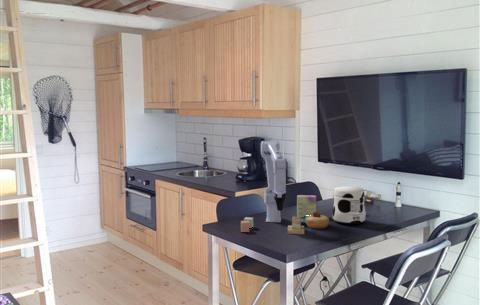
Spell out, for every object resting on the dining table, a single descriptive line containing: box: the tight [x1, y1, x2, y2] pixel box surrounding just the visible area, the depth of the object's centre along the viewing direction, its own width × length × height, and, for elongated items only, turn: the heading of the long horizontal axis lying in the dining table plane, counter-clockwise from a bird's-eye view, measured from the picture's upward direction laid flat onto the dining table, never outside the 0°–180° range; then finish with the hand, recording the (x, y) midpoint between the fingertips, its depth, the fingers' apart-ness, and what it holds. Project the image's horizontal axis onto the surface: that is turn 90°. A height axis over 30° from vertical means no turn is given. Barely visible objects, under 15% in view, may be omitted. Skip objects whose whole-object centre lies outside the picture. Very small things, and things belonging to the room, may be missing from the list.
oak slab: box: [287, 225, 305, 235], centre depth 218 cm, size 8×8×2 cm
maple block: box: [291, 216, 302, 229], centre depth 217 cm, size 4×4×5 cm
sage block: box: [243, 216, 254, 229], centre depth 225 cm, size 4×4×5 cm
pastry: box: [305, 209, 330, 230], centre depth 227 cm, size 12×12×9 cm
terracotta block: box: [240, 220, 250, 233], centre depth 218 cm, size 4×4×5 cm
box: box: [296, 194, 317, 218], centre depth 248 cm, size 10×6×12 cm, turn 84°
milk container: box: [331, 185, 367, 225], centre depth 234 cm, size 17×17×18 cm
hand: (280, 208), depth 224 cm, fingers open, 7 cm apart
